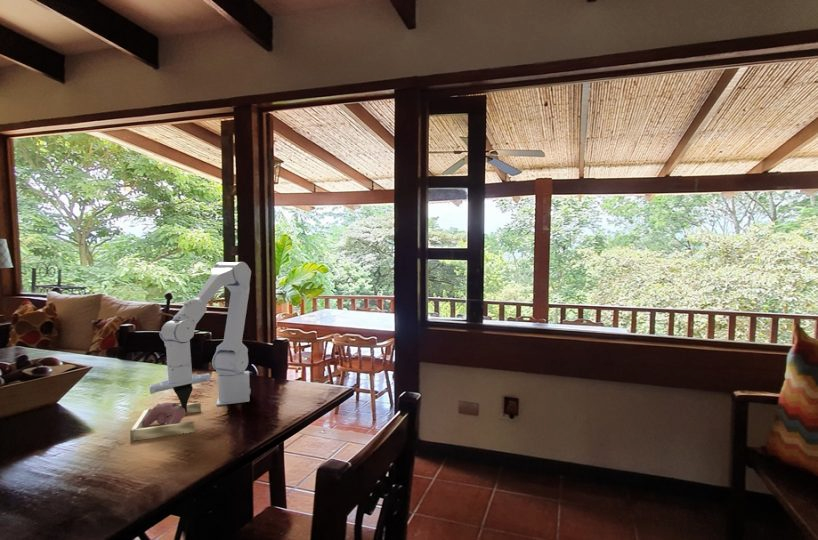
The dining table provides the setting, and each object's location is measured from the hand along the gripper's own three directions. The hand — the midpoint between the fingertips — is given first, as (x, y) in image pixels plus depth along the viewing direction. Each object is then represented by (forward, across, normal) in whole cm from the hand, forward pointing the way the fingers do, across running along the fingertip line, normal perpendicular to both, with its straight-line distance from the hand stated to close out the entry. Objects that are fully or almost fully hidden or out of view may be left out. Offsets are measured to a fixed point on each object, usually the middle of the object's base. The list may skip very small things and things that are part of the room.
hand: (182, 412), depth 112 cm
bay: (+2, +4, -1) cm, 4 cm away
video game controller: (+3, +4, 0) cm, 5 cm away
